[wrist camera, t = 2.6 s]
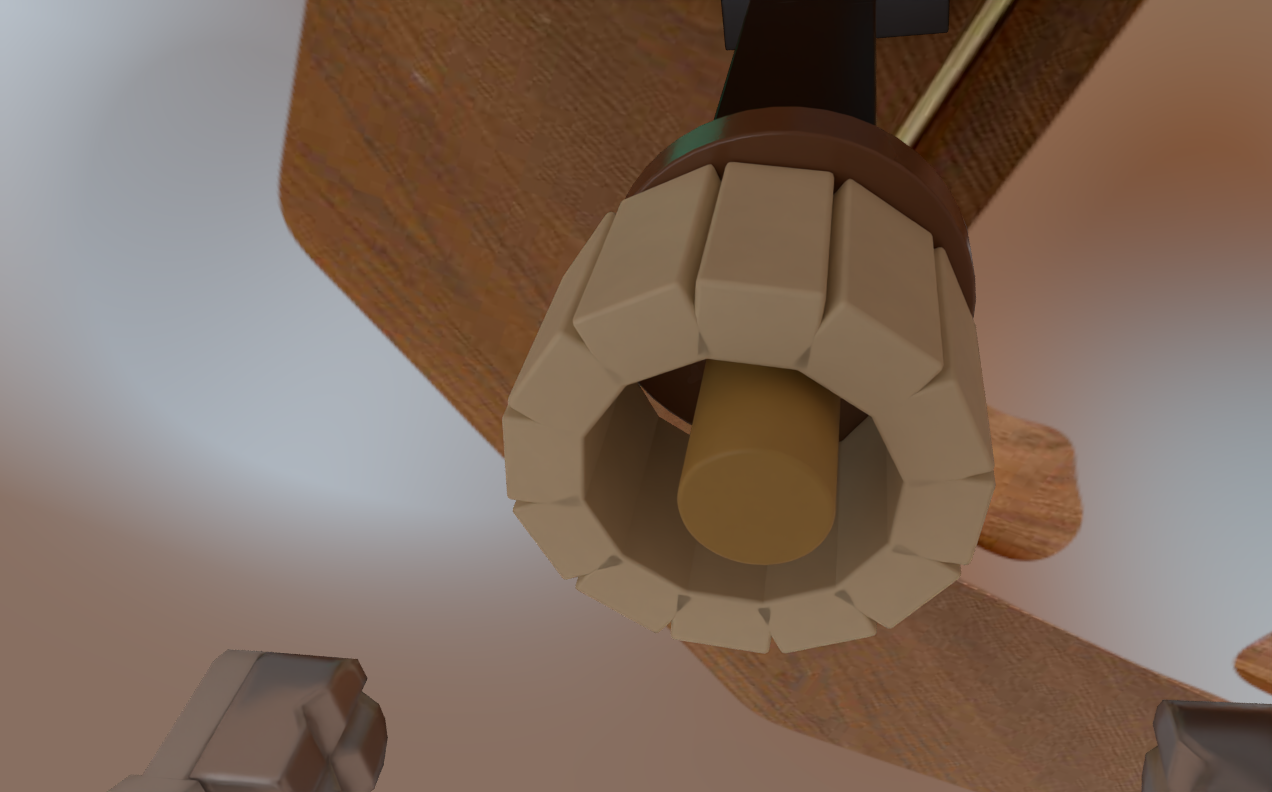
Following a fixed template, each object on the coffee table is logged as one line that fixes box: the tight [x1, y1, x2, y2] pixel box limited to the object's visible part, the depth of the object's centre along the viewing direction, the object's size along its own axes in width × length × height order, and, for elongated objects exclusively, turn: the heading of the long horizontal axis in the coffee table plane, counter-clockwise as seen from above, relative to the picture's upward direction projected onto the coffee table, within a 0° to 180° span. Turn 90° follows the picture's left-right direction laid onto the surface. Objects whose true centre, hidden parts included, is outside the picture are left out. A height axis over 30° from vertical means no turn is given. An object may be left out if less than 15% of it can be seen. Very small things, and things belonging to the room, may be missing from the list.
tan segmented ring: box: [502, 162, 996, 653], centre depth 16 cm, size 7×7×4 cm
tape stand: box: [625, 0, 976, 565], centre depth 25 cm, size 8×8×31 cm
